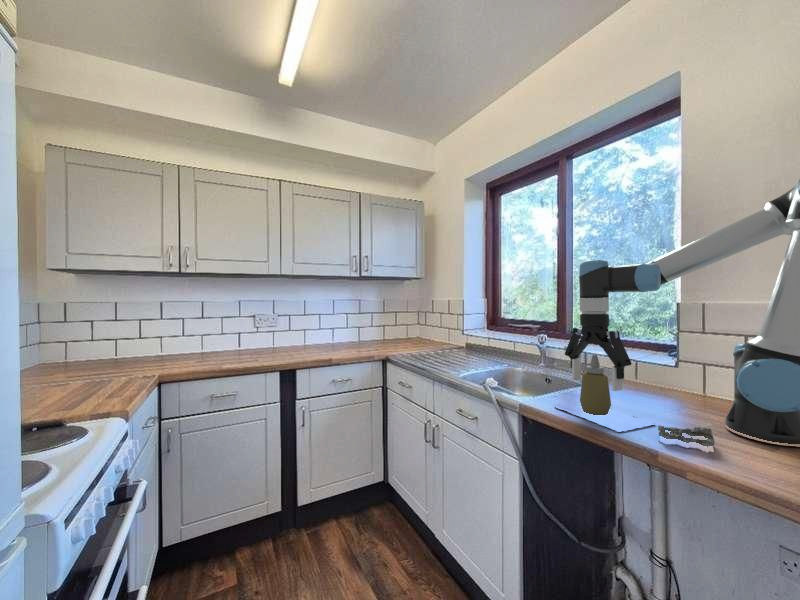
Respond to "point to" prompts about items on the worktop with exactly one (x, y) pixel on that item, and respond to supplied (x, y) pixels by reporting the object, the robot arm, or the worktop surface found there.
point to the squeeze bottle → (595, 389)
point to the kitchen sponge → (698, 431)
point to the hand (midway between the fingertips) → (595, 384)
